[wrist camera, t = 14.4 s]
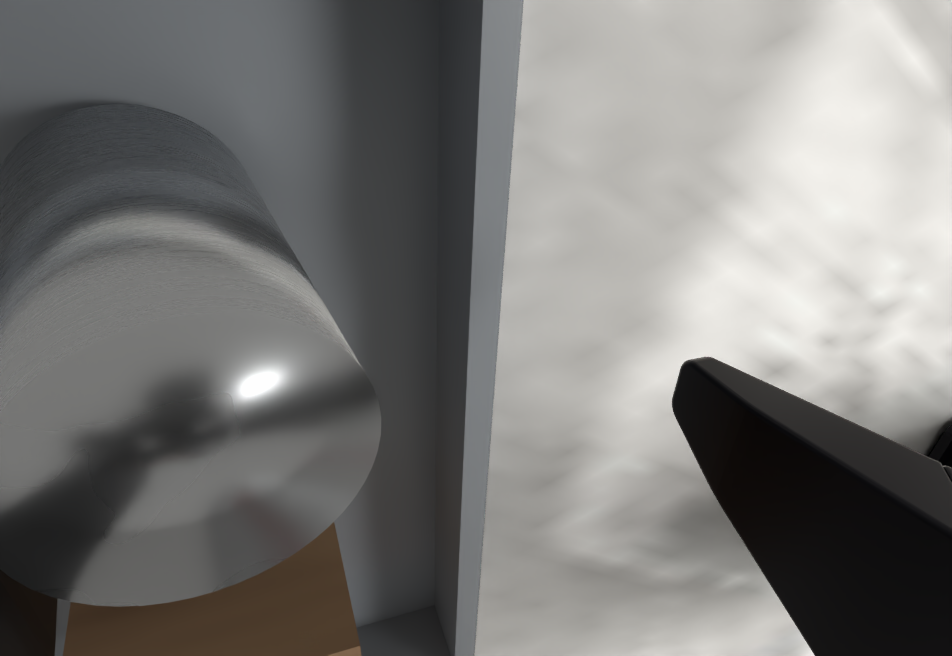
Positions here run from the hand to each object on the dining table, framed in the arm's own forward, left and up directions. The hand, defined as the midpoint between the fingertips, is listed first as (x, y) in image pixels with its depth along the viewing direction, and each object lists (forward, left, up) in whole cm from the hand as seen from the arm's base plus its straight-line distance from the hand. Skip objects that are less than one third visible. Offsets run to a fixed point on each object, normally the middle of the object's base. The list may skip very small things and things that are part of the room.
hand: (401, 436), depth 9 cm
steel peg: (+1, +3, -5) cm, 6 cm away
